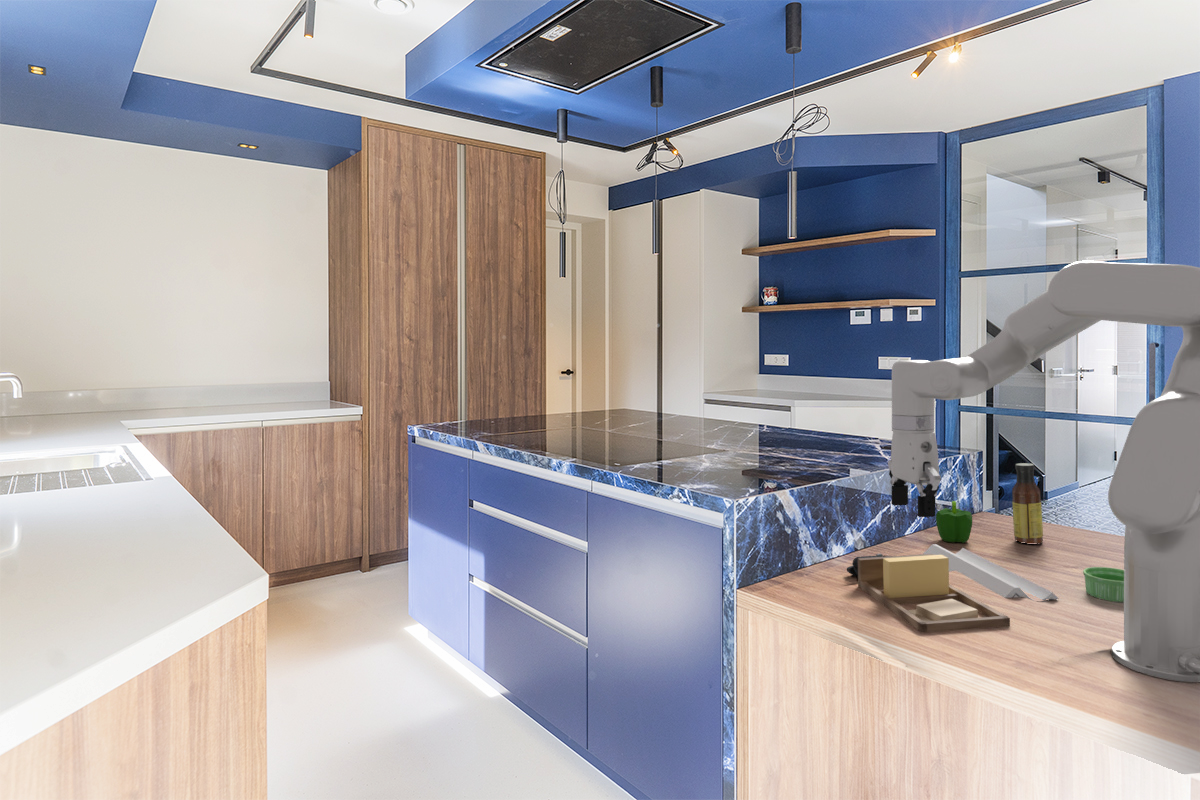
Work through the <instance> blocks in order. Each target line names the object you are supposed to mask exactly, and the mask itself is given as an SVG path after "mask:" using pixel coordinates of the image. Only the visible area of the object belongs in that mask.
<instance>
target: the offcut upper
mask: <svg viewBox="0 0 1200 800" xmlns="http://www.w3.org/2000/svg"><path fill="white" fill-rule="evenodd" d="M916 610H917V614H919V615H921V616H923V617H925V618H927V619H929V620H931V621H940V620H954V619H968V618H979V612H978V610H977V609H975V608H973V607H970V606H968V605H966V604H965V603H963V602H961V601H960V600H954V599H947V600H942V601H936V602H928V603H918V604H916Z"/></svg>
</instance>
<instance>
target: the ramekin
mask: <svg viewBox="0 0 1200 800" xmlns="http://www.w3.org/2000/svg"><path fill="white" fill-rule="evenodd" d="M1082 572H1083V576H1084V585H1085V591H1086V593H1087V594H1088V595H1089V594H1090V595H1089V596H1091V597H1093V596H1094V597H1093V598H1096V597H1097V598H1096V599H1099V598H1100V600H1102V599H1104V600H1103V601H1107V600H1108V602H1115V603H1124V569H1120V568H1116V567H1107V566H1106V567H1104V566H1092V567H1091V566H1090V567H1086V568H1084V569H1083V571H1082Z"/></svg>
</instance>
